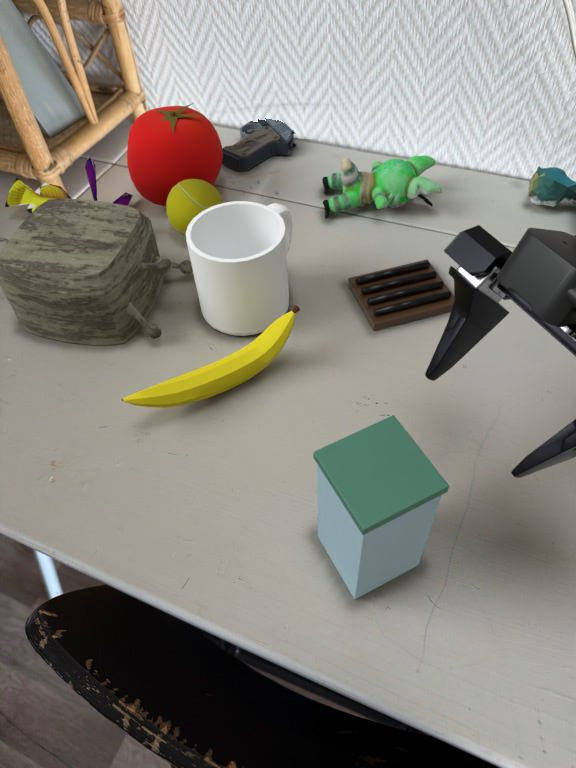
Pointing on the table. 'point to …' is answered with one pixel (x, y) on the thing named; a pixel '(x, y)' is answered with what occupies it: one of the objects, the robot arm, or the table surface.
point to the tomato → (171, 151)
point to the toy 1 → (54, 191)
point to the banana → (219, 370)
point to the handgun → (259, 144)
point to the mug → (241, 264)
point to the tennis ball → (190, 202)
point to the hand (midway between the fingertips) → (469, 423)
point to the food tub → (375, 504)
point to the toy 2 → (380, 184)
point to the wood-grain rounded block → (84, 272)
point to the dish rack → (401, 294)
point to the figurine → (551, 187)
